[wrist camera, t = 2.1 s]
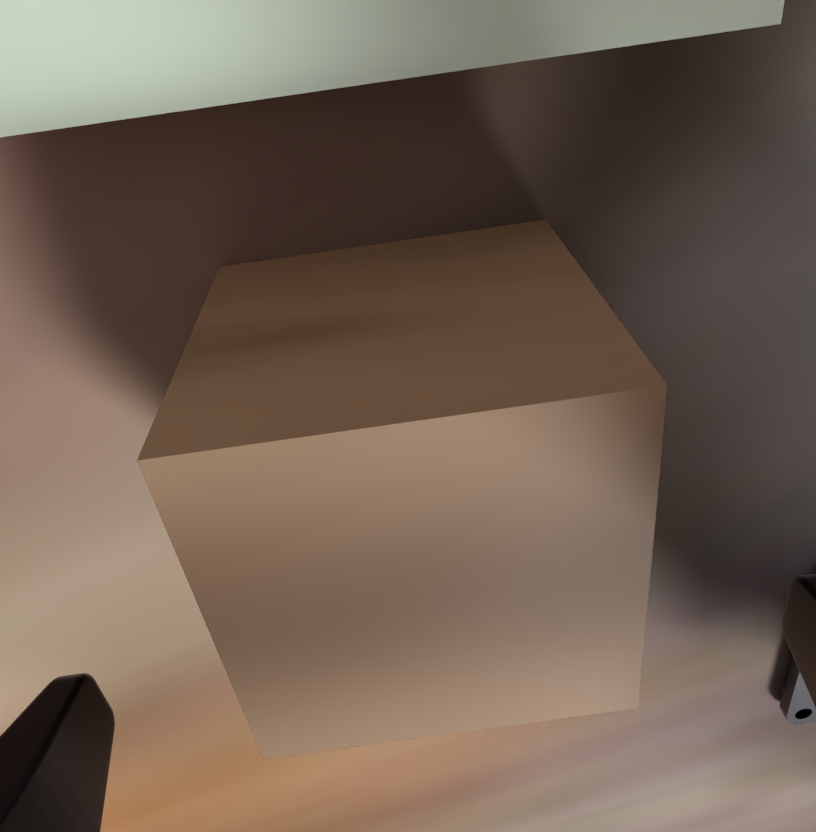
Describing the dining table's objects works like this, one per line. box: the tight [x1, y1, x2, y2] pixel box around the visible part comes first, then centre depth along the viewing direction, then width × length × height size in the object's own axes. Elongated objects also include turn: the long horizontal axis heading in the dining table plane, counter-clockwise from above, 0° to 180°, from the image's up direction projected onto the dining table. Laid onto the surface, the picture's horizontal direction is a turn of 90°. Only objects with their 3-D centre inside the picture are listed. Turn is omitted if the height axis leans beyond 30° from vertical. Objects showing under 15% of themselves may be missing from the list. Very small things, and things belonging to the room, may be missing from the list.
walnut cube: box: [137, 219, 668, 759], centre depth 12 cm, size 6×6×6 cm
